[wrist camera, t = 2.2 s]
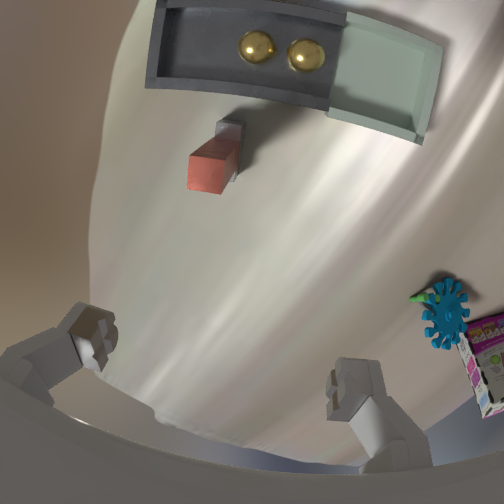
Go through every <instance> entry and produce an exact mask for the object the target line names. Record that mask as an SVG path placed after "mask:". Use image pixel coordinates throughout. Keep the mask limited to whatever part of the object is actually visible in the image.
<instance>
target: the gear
mask: <svg viewBox="0 0 504 504" xmlns="http://www.w3.org/2000/svg"><path fill="white" fill-rule="evenodd" d="M443 283H444V290H443V293H442V289H443ZM443 283H442V282H438V283H435V284H433V288H434V290H435V293H436V295H434V293H429V294H427V293H426V292H423V293H419V294H418V296H415V297H410V298H409V301H410V302H418V303H419V304H420V305H421V306H422V307H424V308H425V309H426V310H424V312H423V315H422V320H431V321H432V322H433V323H434V328H432V327H426V328H425V337H432V336H433V335H434V334H435V333H436V332H439V336H438V338H435V339H433V340H432V342H431V343H432V346H433V347H434V348H440V346H441V343H442V341H443V339H444V337H445V336H446V340H445V341H444V342H443V343H442V346H441V348H442V349H446V350H450V348H451V342H452V344H458V343H460V341H461V338H460V336H459V332H460V333H465V332H466V330H467V328H468V326H467V324H465V323H464V322H463V319H462V316H463V317H469V314H470V309H469V308H468V309H464V308H462V307H461V302H467V301H468V296H467V293H463V294H461V295H460V296H459V297H458V298H457V296H456V292H457V291H461V289H462V285H461V283H460V282H455V283H454V284H453V280H452V279H451V278H444V281H443ZM452 284H453V288H452V291H451V292H449V288H450V287H451V286H452ZM452 335H453V337H452ZM451 339H452V340H451Z"/></svg>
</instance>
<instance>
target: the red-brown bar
mask: <svg viewBox="0 0 504 504" xmlns="http://www.w3.org/2000/svg"><path fill="white" fill-rule="evenodd" d="M245 123H246V122H240V121H233V120H226V119H221V120H219V121H218V122H216V130H215V137H213V138H212V139H210V140H209V141H208V142H206V143H205V144H204V145H202V146H201V147H200V148H198V149H197V150H196V151H194V152H193V153H192V154H191V155H189V166H188V180H187V189H190V190H197V191H203V192H209V193H215V194H220V195H221V194H222V192H223V190H224V189H225V187H226V185H227V184H228V182H234V181H235V179H236V177H237V176H238V170H239V163H240V156H241V149H242V143H243V136H244V129H245Z"/></svg>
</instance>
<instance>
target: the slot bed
mask: <svg viewBox="0 0 504 504" xmlns="http://www.w3.org/2000/svg"><path fill="white" fill-rule="evenodd" d="M346 18H347V16H346V15H342V14H338V13H334V12H330V11H326V10H321V9H317V8H312V7H306V6H301V5H295V4H289V3H283V2H275V1H267V0H157V2H156V7H155V13H154V18H153V25H152V31H151V38H150V45H149V53H148V61H147V69H146V79H145V88H151V89H176V90H192V91H204V92H215V93H224V94H232V95H240V96H247V97H254V98H261V99H267V100H273V101H279V102H284V103H289V104H294V105H299V106H304V107H309V108H313V109H318V110H322V111H326V112H329V107H330V103H331V100H330V99H329V94H330V89H331V84H332V79H333V74H334V69H335V64H336V59H337V53H338V48H339V42H340V37H341V31H342V29H343V28H344V27H345V24H346ZM252 30H261V31H264V32H267V33H268V34H269V35H271V36H272V38H273V39H274V41H275V44H276V50H275V54H274V55H273V57H272V58H271V59H270V60H269V61H267V62H265V63H262V64H251V63H248V62H246V61H244V60H243V59H242V58H241V57H240V55H239V53H238V50H237V44H238V41H239V39H240V37H241V36H242V35H243V34H245V33H246V32H248V31H252ZM299 38H310V39H313V40H315V41H317V42H318V43H319V44H320V45H321V46H322V47H323V49H324V52H325V60H324V63H323V65H322V66H321V67H320V68H319V69H318V70H316V71H314V72H310V73H304V72H300V71H297V70H295V69H294V68H293V67H292V66H291V65H290V64H289V62H288V60H287V56H286V53H287V49H288V47H289V45H290V44H291V43H292V42H293V41H294V40H296V39H299Z"/></svg>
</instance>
